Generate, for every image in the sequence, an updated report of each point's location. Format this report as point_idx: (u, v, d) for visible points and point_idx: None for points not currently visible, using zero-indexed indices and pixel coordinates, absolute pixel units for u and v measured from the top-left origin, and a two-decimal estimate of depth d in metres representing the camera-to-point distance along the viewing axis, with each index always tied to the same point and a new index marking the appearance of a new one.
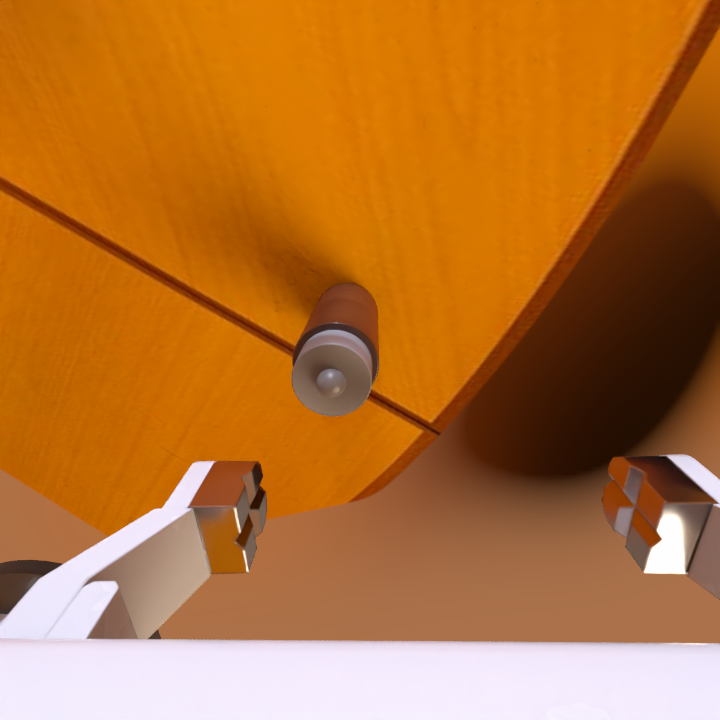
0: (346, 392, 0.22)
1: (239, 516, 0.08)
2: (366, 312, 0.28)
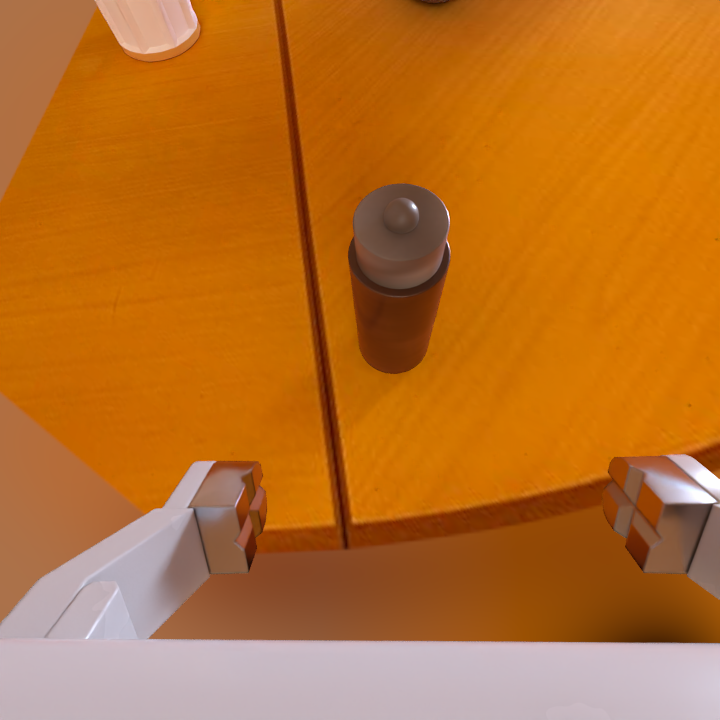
0: (402, 238, 0.18)
1: (240, 516, 0.08)
2: None
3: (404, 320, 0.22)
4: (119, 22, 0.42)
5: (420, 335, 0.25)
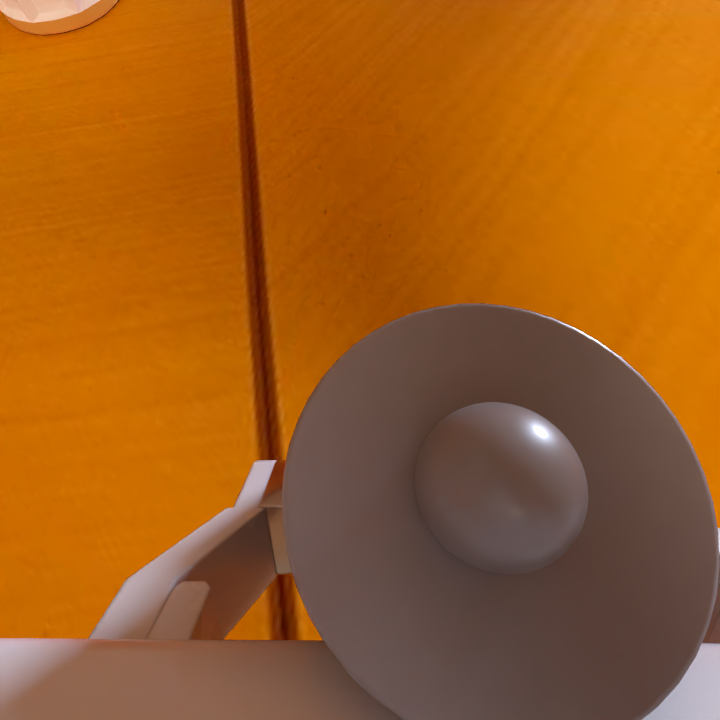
0: (506, 598, 0.04)
1: None
2: None
3: None
4: None
5: None
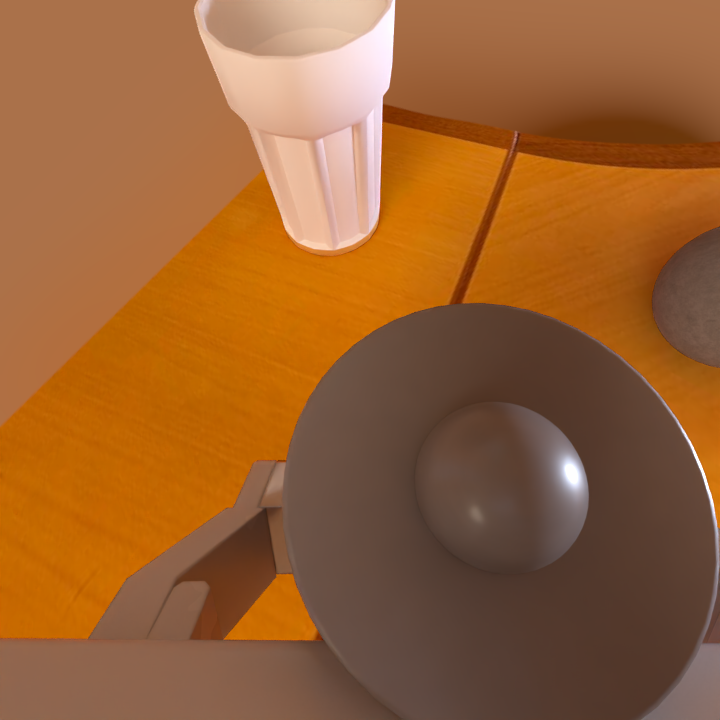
0: (506, 598, 0.04)
1: None
2: None
3: None
4: (284, 208, 0.35)
5: None
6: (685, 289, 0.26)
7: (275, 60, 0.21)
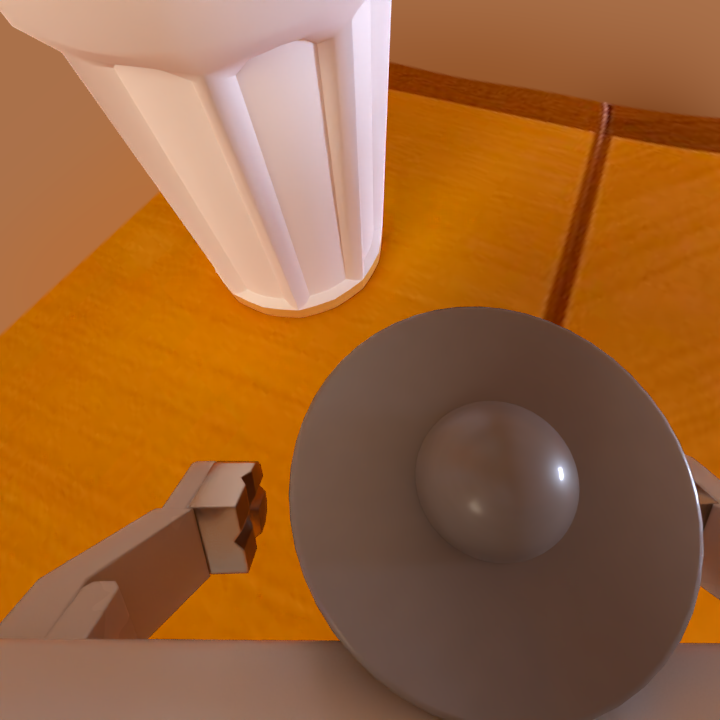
0: (503, 586, 0.04)
1: (239, 516, 0.08)
2: None
3: None
4: None
5: None
6: None
7: None
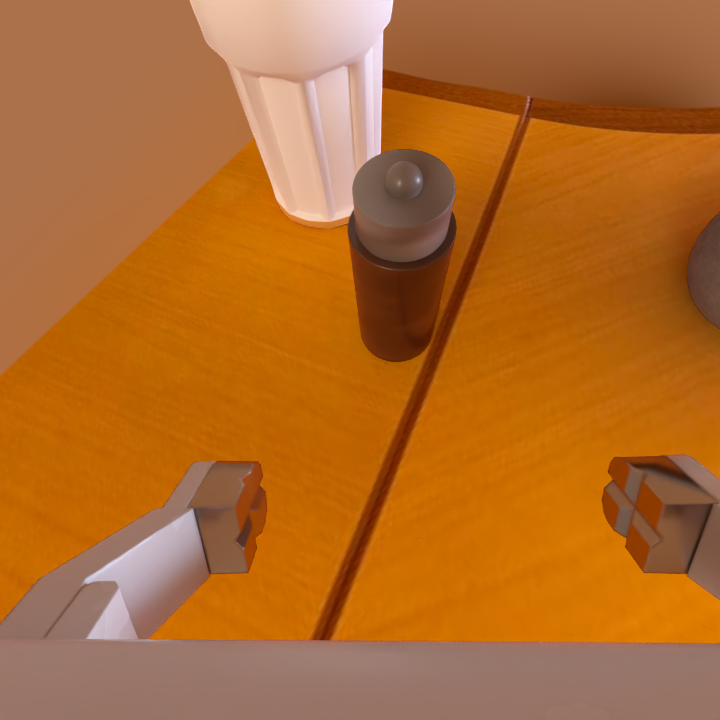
0: (405, 204, 0.17)
1: (240, 516, 0.08)
2: None
3: (407, 298, 0.21)
4: (274, 174, 0.32)
5: (425, 318, 0.24)
6: None
7: None
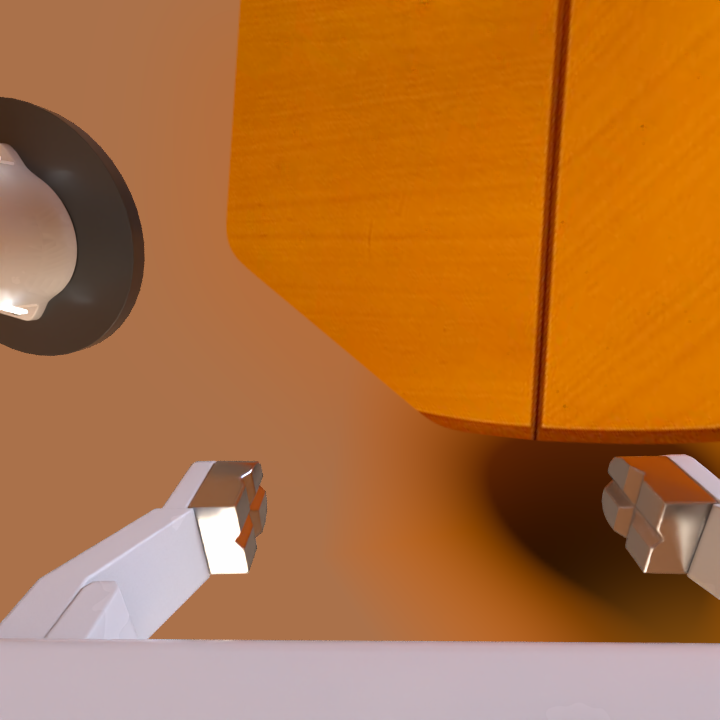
0: None
1: (240, 516, 0.08)
2: None
3: None
4: None
5: None
6: None
7: None
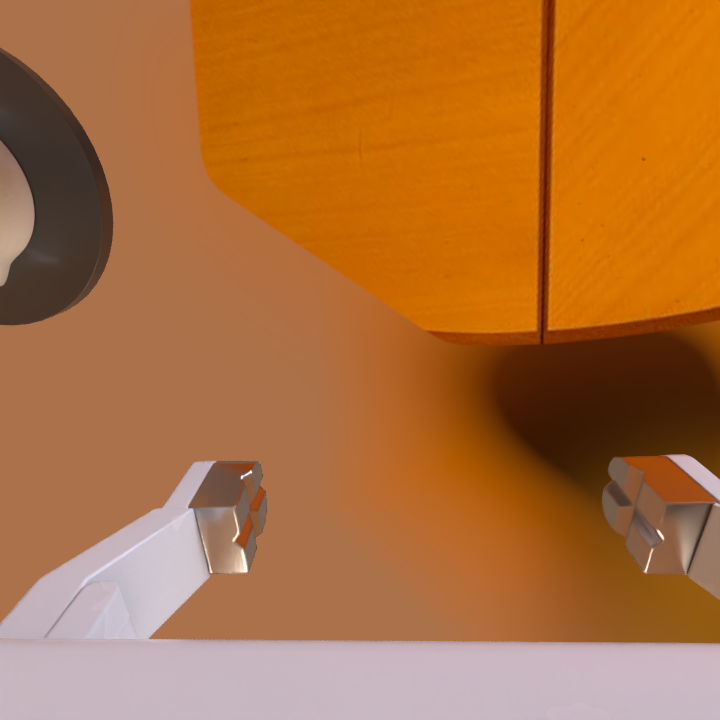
0: None
1: (239, 516, 0.08)
2: None
3: None
4: None
5: None
6: None
7: None
